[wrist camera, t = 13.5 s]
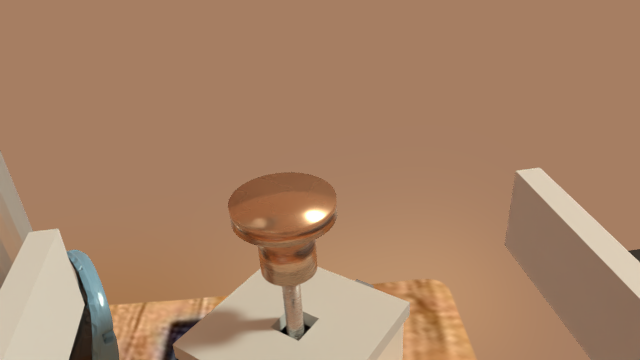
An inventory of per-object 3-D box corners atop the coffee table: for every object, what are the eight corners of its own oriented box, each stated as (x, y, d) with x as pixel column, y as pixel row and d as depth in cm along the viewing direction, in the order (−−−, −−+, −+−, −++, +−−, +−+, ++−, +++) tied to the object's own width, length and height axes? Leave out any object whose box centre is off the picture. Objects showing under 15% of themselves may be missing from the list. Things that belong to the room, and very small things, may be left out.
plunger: (249, 452, 44) (205, 210, 32) (297, 394, 48) (273, 164, 37) (317, 495, 40) (293, 242, 29) (361, 429, 45) (356, 187, 34)
